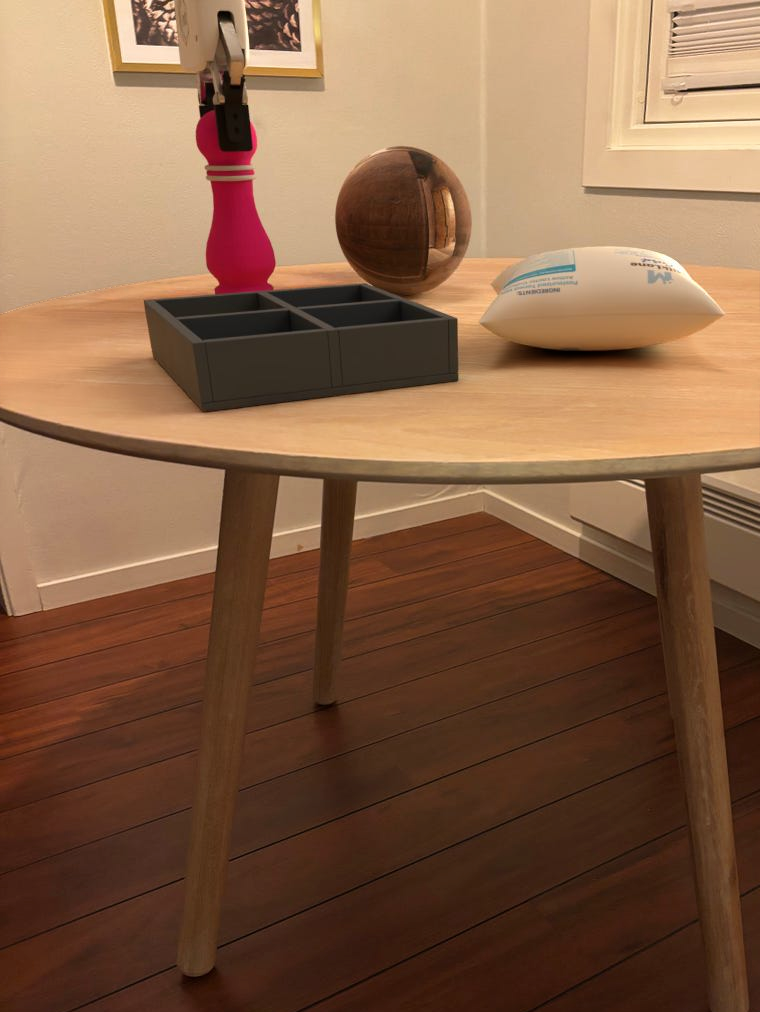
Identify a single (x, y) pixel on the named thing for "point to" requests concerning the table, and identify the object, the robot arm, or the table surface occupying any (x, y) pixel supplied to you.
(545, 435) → the table surface
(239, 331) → the compartment tray
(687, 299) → the pouch
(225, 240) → the pepper mill
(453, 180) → the shiny brown ball
